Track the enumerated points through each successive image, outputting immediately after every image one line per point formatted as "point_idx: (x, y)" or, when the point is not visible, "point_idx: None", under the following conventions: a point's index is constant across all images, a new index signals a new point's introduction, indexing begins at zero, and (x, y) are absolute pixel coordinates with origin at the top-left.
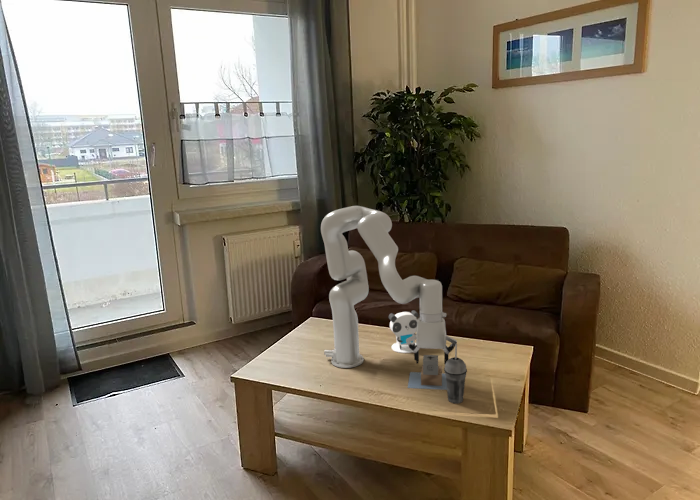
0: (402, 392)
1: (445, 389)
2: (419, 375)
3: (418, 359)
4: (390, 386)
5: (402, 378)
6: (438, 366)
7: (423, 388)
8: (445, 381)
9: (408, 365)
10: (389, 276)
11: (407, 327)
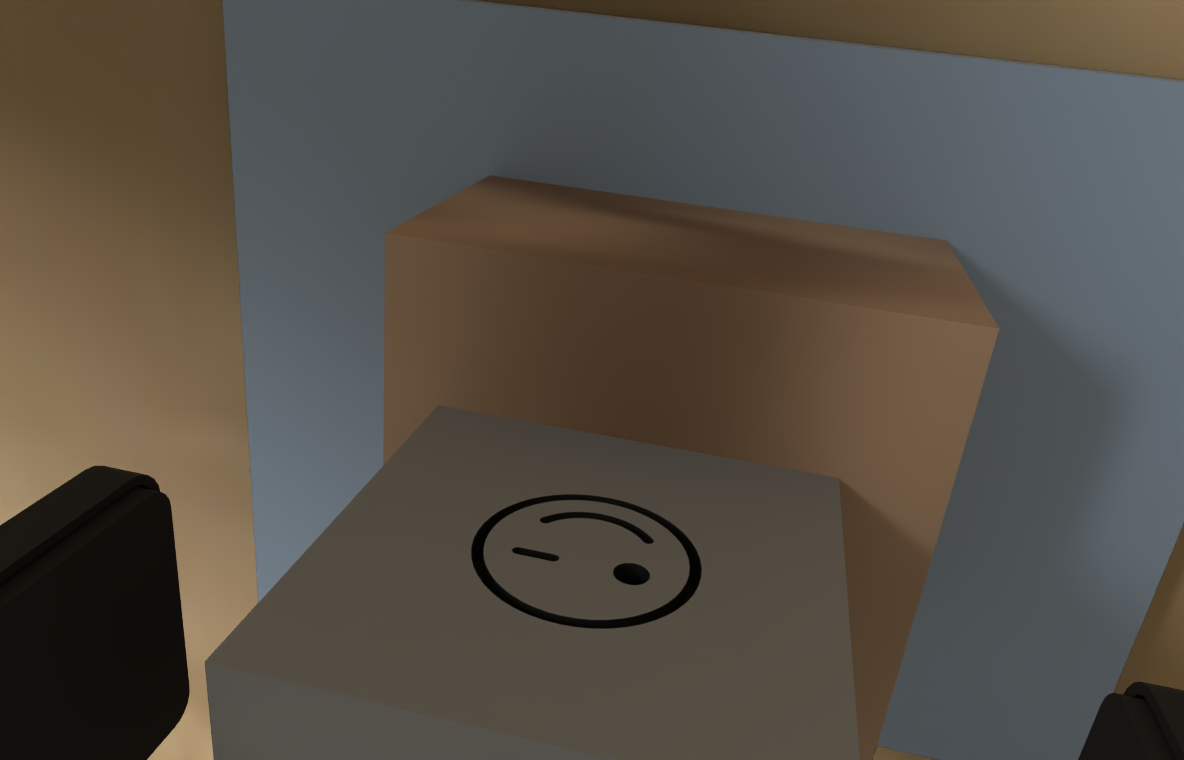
0: (221, 615)
1: (890, 746)
2: (431, 165)
3: (123, 663)
4: (21, 428)
5: (141, 154)
6: (875, 346)
7: None
8: (969, 477)
9: None
10: None
11: None
